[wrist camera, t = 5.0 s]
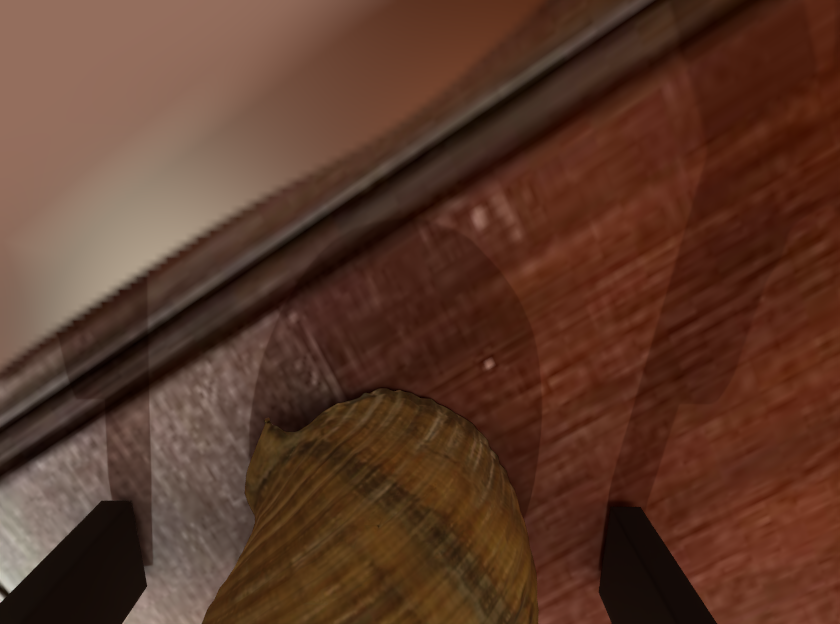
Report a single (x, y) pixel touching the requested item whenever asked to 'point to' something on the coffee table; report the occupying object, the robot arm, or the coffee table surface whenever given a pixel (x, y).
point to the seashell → (380, 523)
